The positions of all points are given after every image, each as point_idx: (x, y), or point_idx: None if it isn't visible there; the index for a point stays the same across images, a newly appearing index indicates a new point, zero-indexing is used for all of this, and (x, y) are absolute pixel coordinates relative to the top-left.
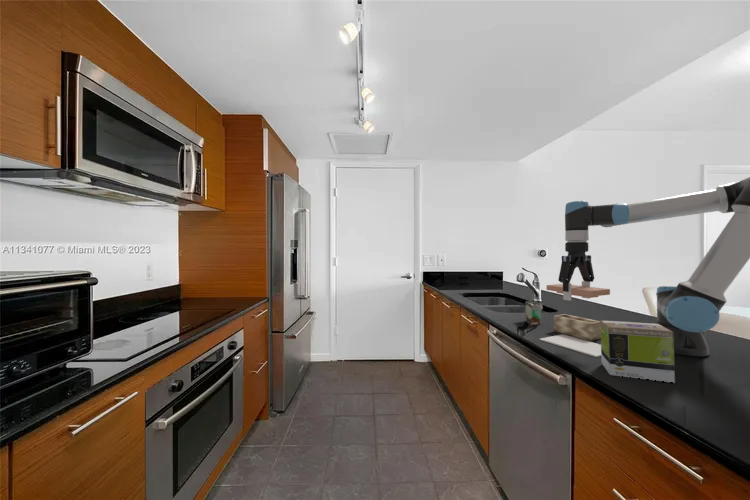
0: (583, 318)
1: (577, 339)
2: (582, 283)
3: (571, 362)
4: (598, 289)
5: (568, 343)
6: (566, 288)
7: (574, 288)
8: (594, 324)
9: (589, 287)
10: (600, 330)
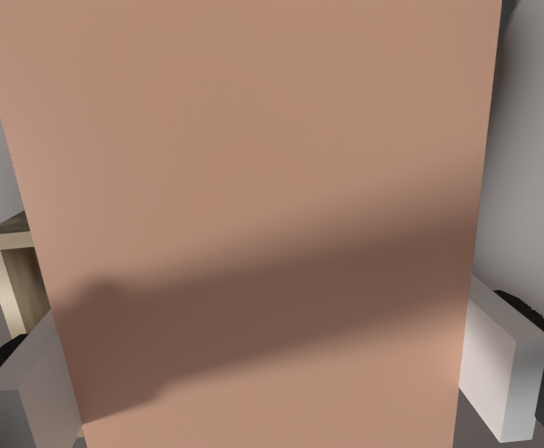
0: (23, 331)
1: None
2: (65, 446)
3: (504, 8)
4: (223, 29)
5: None
6: (534, 313)
7: (449, 270)
8: None
9: (131, 268)
10: (22, 217)
